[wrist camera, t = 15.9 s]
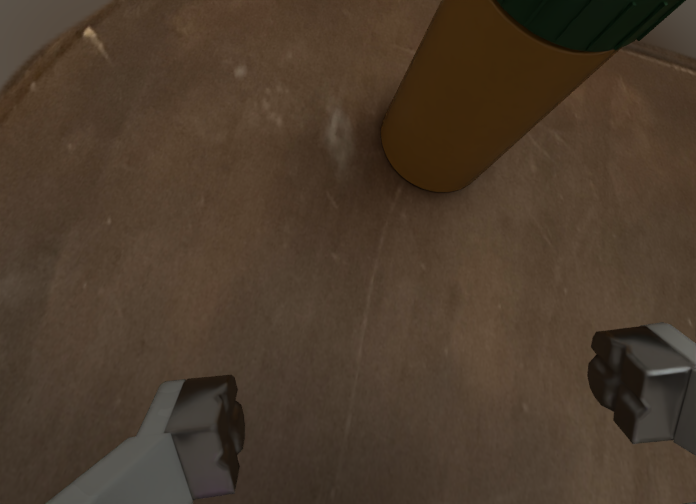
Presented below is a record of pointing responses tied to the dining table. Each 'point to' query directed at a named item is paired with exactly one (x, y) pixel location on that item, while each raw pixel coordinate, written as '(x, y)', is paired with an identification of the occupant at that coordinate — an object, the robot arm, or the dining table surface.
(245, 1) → the dining table surface
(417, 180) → the jar
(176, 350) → the dining table surface
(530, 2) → the lid
